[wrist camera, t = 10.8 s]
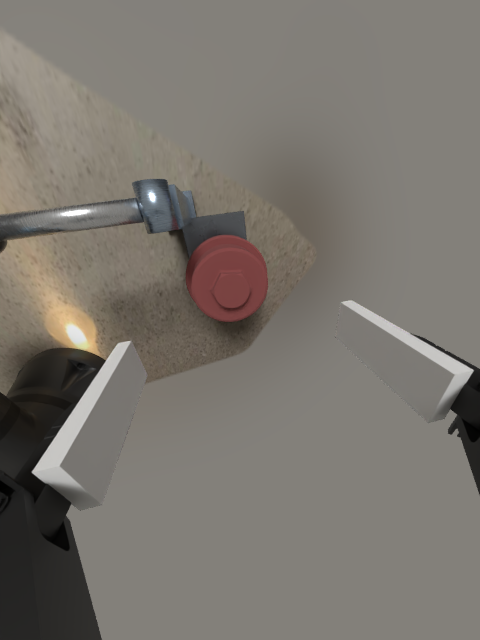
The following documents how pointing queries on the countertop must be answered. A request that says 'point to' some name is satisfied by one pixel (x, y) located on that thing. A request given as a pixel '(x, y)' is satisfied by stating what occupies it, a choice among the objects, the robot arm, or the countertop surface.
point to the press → (203, 221)
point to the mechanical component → (227, 278)
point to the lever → (96, 214)
